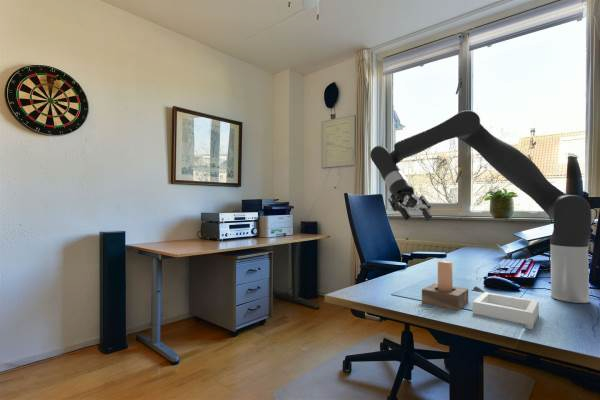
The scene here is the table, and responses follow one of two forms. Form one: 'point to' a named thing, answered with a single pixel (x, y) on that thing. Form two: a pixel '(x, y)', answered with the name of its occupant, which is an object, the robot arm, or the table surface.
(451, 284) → the tan rectangular block
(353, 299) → the table surface
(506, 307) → the tray
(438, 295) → the socket block
